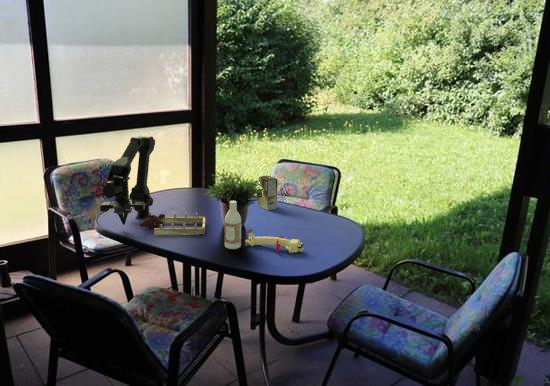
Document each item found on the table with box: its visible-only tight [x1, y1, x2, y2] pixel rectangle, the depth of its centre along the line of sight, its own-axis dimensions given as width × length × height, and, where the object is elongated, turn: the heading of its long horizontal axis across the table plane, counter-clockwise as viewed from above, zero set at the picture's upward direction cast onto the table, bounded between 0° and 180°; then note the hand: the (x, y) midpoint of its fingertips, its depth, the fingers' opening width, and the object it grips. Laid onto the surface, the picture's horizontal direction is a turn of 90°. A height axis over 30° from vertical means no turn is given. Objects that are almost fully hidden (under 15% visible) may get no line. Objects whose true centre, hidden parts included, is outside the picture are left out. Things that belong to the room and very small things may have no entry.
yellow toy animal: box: [244, 227, 305, 254], centre depth 206 cm, size 10×9×25 cm
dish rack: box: [153, 212, 206, 236], centre depth 224 cm, size 15×22×5 cm
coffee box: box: [257, 175, 278, 211], centre depth 255 cm, size 9×6×16 cm
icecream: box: [138, 213, 166, 231], centre depth 222 cm, size 7×7×15 cm
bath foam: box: [224, 200, 242, 250], centre depth 204 cm, size 7×7×20 cm
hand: (124, 224), depth 220 cm, fingers closed
